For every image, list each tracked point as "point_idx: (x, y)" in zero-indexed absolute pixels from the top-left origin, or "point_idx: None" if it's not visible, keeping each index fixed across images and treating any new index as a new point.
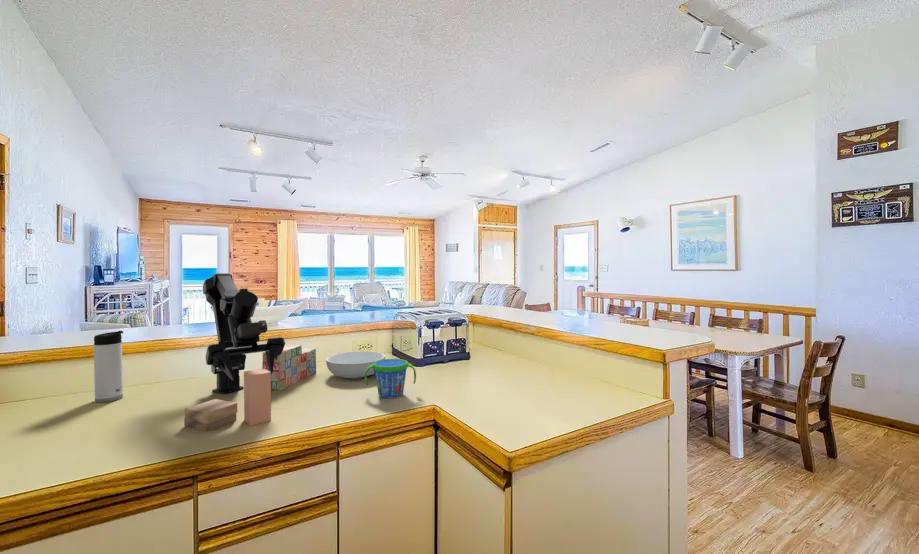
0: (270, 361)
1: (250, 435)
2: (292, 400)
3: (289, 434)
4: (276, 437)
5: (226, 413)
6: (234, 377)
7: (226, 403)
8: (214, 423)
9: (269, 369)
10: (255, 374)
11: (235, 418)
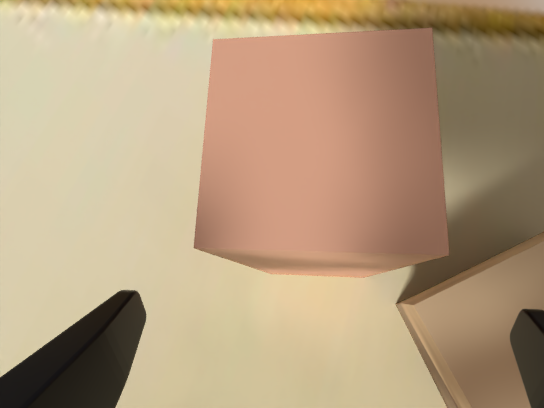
0: (31, 394)
1: None
2: None
3: (271, 17)
4: (314, 18)
5: (466, 272)
6: (528, 309)
7: (476, 338)
8: None
9: (119, 360)
10: (362, 40)
11: (402, 301)
